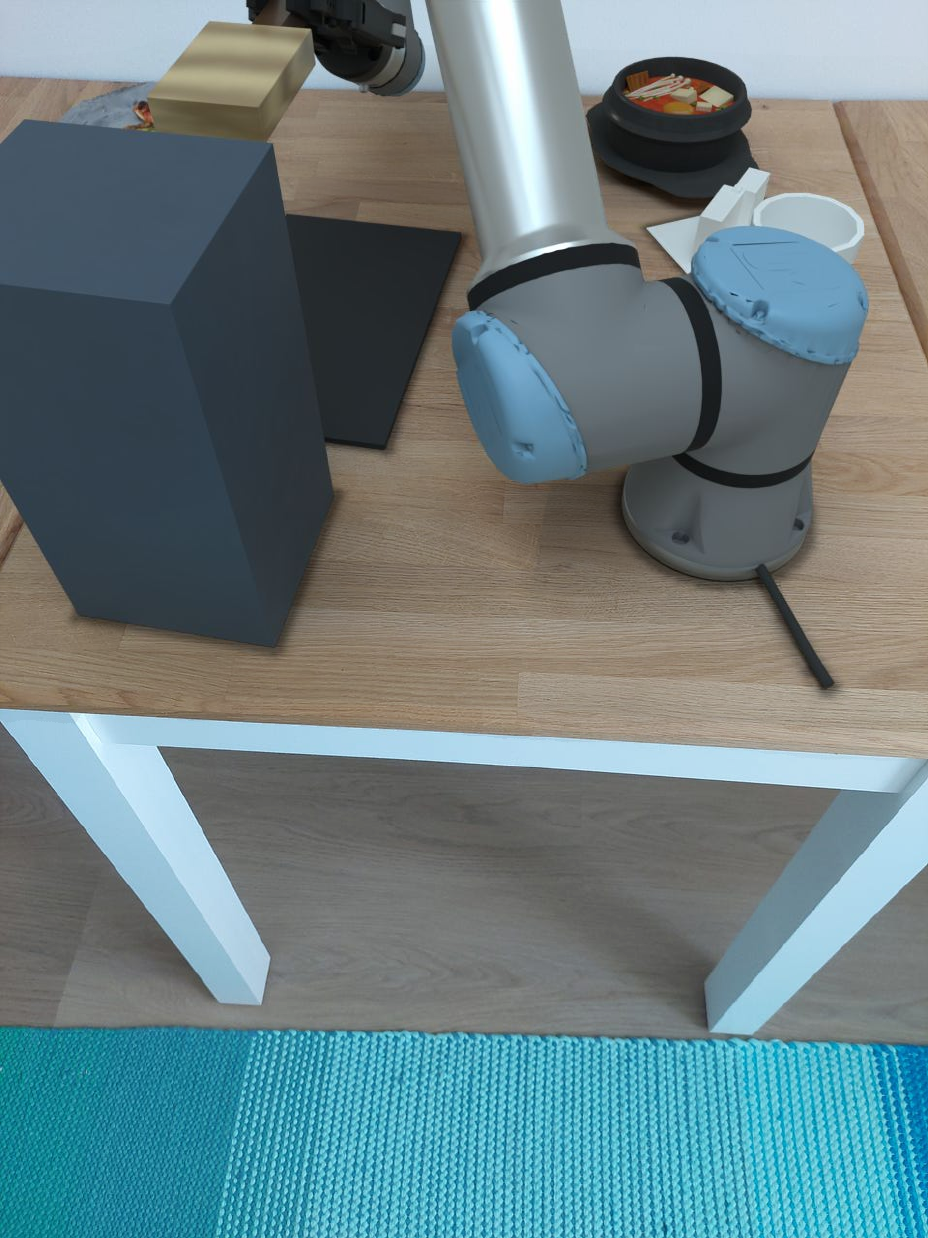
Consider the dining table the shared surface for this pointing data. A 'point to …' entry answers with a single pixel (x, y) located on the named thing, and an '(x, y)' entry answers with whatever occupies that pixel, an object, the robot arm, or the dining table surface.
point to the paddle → (235, 77)
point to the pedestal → (158, 377)
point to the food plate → (115, 109)
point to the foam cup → (814, 220)
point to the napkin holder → (713, 217)
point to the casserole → (675, 125)
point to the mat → (366, 316)
